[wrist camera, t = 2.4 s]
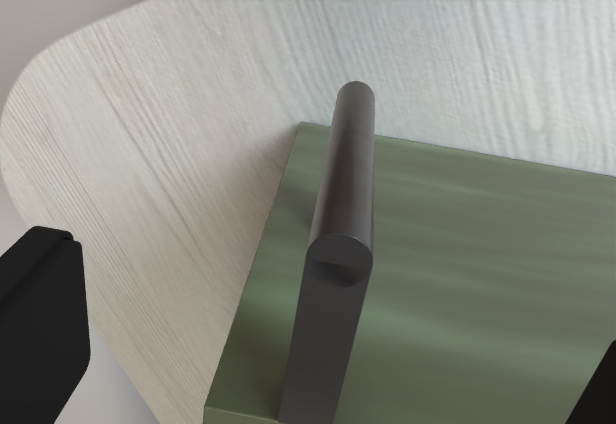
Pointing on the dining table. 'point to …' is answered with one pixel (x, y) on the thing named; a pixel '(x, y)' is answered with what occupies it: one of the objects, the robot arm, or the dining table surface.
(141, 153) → the dining table surface
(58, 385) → the robot arm
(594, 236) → the cabinet door
